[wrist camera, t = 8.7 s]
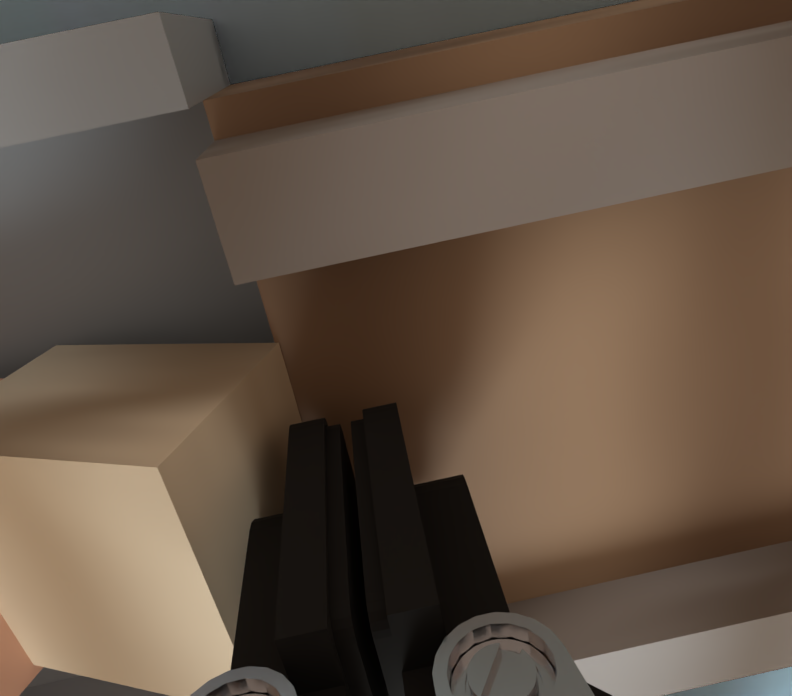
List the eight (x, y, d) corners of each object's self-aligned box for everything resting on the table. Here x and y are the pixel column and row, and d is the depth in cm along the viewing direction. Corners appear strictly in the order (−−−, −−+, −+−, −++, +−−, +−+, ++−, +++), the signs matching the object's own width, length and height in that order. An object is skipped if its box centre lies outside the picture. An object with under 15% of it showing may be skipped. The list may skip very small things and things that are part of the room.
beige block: (278, 342, 10) (157, 467, 7) (342, 561, 12) (263, 717, 9) (56, 345, 11) (-104, 448, 9) (145, 537, 13) (33, 665, 11)
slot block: (1138, -104, 11) (1596, -182, 7) (987, 455, 17) (1202, 590, 13) (230, 84, 11) (180, 113, 7) (371, 591, 16) (389, 774, 12)
